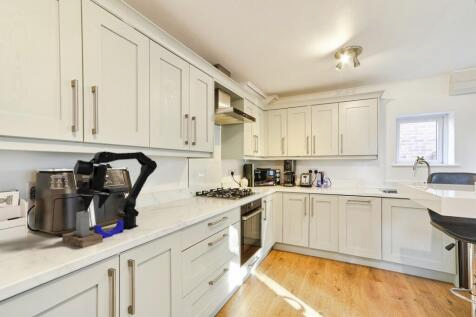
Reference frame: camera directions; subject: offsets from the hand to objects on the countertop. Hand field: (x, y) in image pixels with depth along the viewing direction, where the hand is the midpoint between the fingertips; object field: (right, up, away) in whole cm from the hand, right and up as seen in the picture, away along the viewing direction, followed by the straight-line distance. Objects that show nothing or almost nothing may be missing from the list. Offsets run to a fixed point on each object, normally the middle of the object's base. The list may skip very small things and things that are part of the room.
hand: (93, 209), depth 106 cm
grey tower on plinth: (+1, -12, -9) cm, 15 cm away
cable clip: (+8, -13, 0) cm, 15 cm away
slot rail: (+1, -12, -9) cm, 15 cm away
